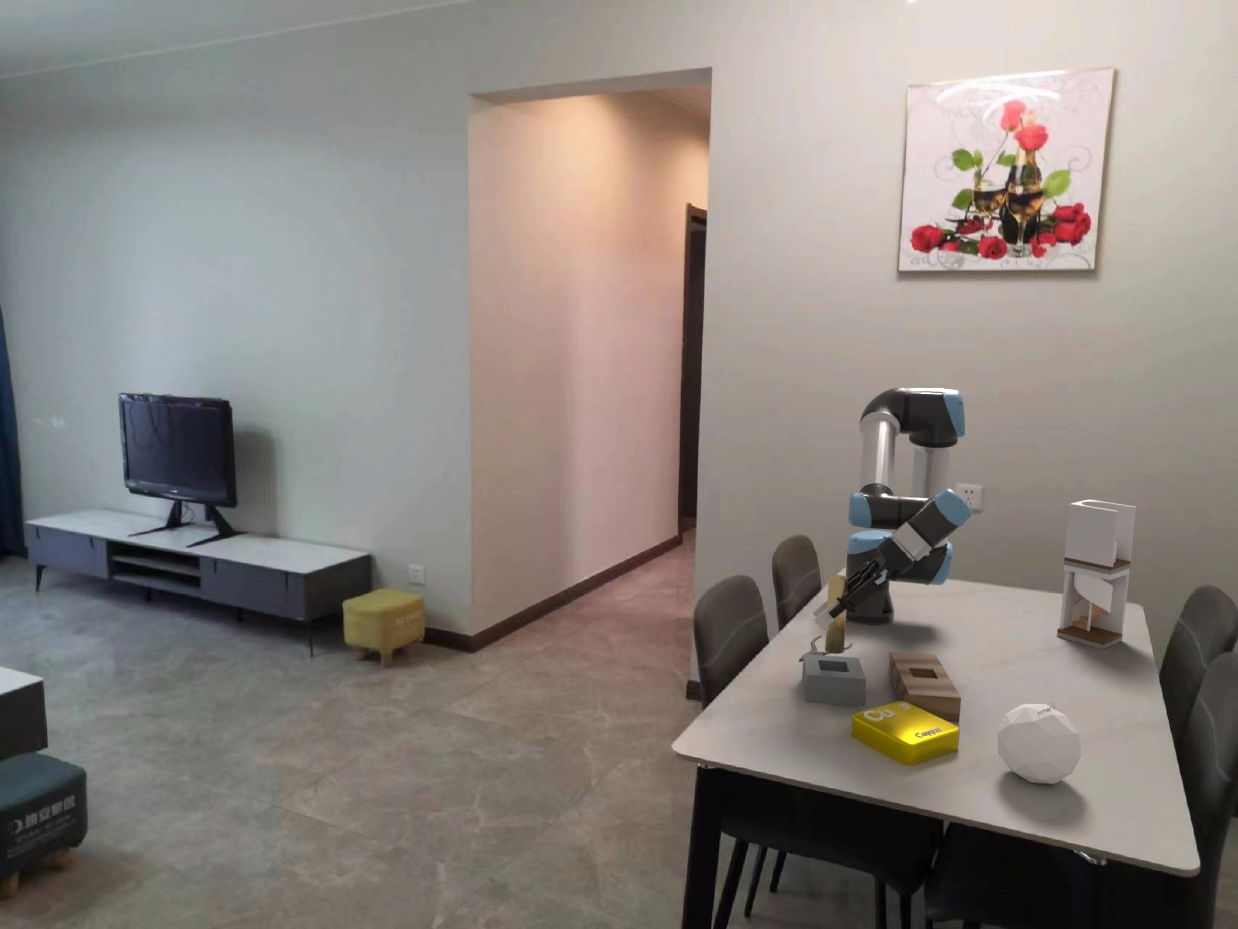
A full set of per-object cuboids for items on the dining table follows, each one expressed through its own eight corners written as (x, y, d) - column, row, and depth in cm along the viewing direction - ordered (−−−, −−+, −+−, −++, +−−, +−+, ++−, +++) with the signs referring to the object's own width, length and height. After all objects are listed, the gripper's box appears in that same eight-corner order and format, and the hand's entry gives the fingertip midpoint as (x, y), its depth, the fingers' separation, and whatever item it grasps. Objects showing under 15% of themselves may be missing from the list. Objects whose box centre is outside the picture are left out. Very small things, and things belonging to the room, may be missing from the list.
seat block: (802, 679, 195) (803, 654, 194) (857, 683, 194) (858, 657, 193) (805, 702, 184) (806, 674, 183) (864, 706, 182) (866, 679, 181)
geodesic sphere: (1015, 716, 165) (1006, 673, 157) (1096, 739, 156) (1090, 695, 148) (991, 782, 158) (980, 740, 150) (1074, 810, 149) (1066, 767, 141)
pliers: (854, 640, 220) (839, 667, 202) (854, 643, 220) (839, 671, 202) (815, 634, 224) (798, 660, 206) (815, 637, 224) (797, 663, 206)
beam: (888, 672, 200) (890, 651, 200) (934, 675, 199) (935, 654, 198) (907, 717, 177) (909, 694, 176) (959, 721, 175) (961, 698, 175)
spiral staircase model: (1056, 636, 226) (1069, 503, 221) (1076, 628, 233) (1089, 499, 227) (1102, 649, 217) (1117, 511, 212) (1121, 641, 224) (1136, 506, 218)
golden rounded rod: (823, 646, 188) (827, 574, 186) (843, 647, 188) (847, 575, 186) (825, 653, 184) (829, 579, 182) (845, 654, 184) (849, 580, 182)
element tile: (907, 769, 157) (909, 744, 156) (846, 735, 169) (847, 712, 169) (963, 750, 164) (965, 726, 163) (900, 719, 177) (902, 696, 176)
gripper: (923, 573, 173) (833, 647, 177) (908, 552, 189) (826, 621, 194) (897, 545, 173) (808, 621, 177) (884, 527, 189) (802, 596, 194)
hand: (817, 620), depth 186 cm, fingers closed on golden rounded rod, 4 cm apart
